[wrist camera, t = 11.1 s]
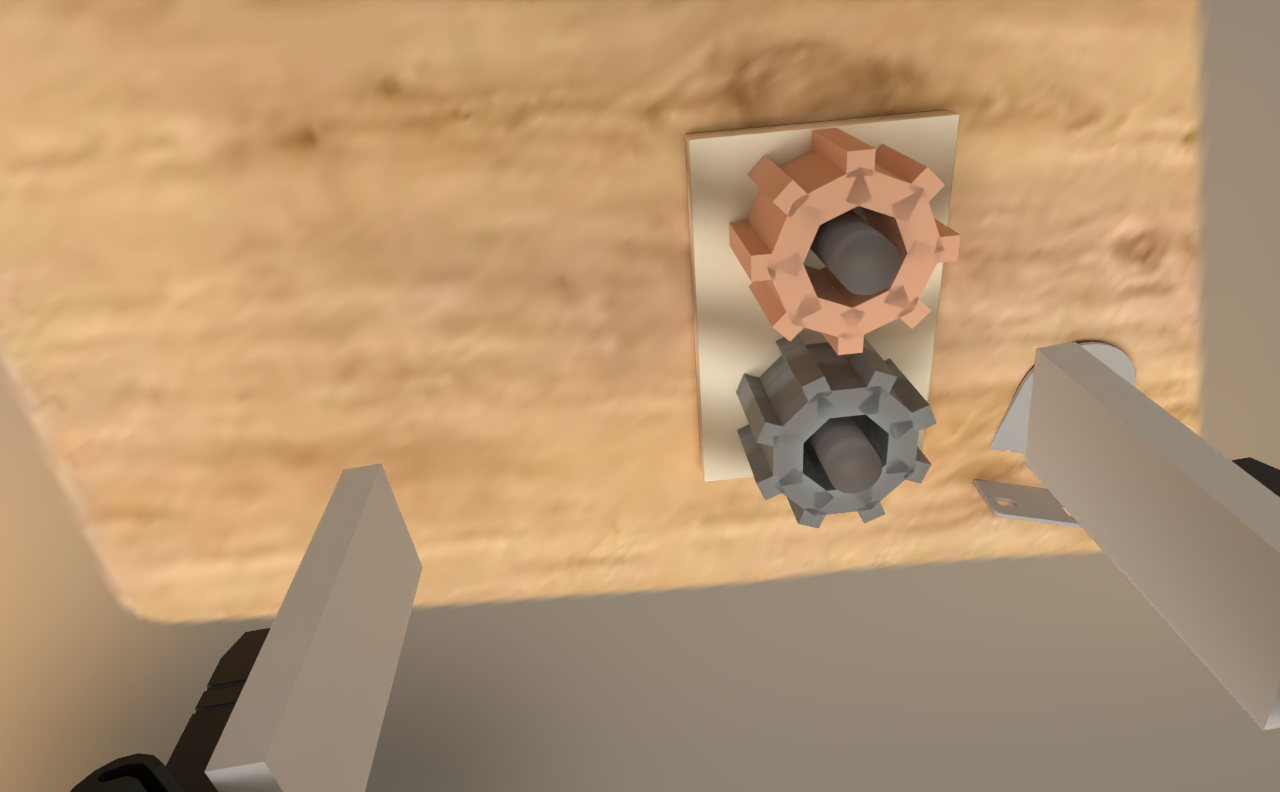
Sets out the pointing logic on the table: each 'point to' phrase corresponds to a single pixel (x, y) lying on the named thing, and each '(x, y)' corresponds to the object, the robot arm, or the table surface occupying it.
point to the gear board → (810, 333)
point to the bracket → (1014, 438)
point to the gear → (817, 194)
